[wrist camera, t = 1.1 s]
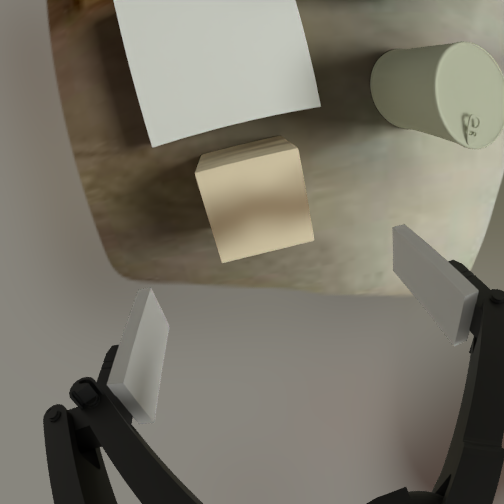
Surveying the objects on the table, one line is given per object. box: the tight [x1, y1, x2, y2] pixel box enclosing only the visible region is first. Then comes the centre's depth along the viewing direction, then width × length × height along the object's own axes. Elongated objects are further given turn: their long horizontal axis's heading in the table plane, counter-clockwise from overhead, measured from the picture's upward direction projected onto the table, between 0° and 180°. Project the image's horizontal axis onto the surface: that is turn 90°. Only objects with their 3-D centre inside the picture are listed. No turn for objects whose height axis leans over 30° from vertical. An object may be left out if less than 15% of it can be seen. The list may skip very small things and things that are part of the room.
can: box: [370, 42, 504, 149], centre depth 23 cm, size 9×9×12 cm
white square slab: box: [114, 0, 321, 148], centre depth 24 cm, size 15×15×4 cm
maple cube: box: [195, 136, 314, 263], centre depth 29 cm, size 8×8×8 cm
